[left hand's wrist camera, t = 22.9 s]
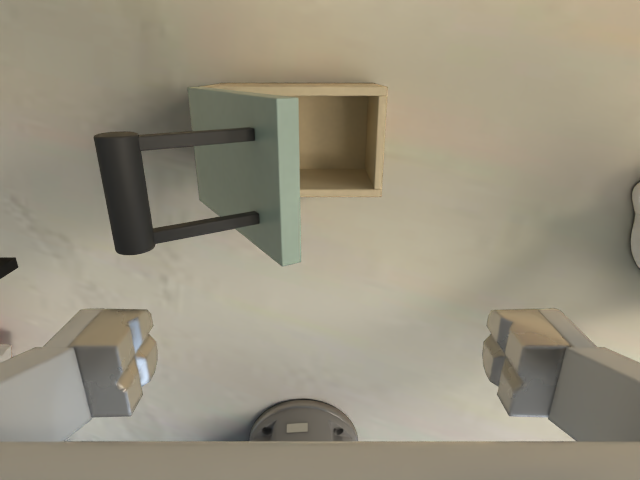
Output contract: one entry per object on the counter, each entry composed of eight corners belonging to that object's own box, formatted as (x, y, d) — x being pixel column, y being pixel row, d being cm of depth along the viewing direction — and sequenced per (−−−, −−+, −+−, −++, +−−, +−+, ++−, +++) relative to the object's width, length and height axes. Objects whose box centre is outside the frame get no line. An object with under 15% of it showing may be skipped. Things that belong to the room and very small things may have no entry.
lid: (298, 97, 22) (94, 104, 17) (301, 262, 25) (131, 305, 21) (203, 86, 34) (69, 89, 30) (213, 198, 38) (95, 216, 33)
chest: (374, 83, 43) (387, 86, 34) (370, 173, 46) (381, 197, 38) (221, 83, 43) (197, 86, 34) (228, 173, 46) (208, 197, 38)
